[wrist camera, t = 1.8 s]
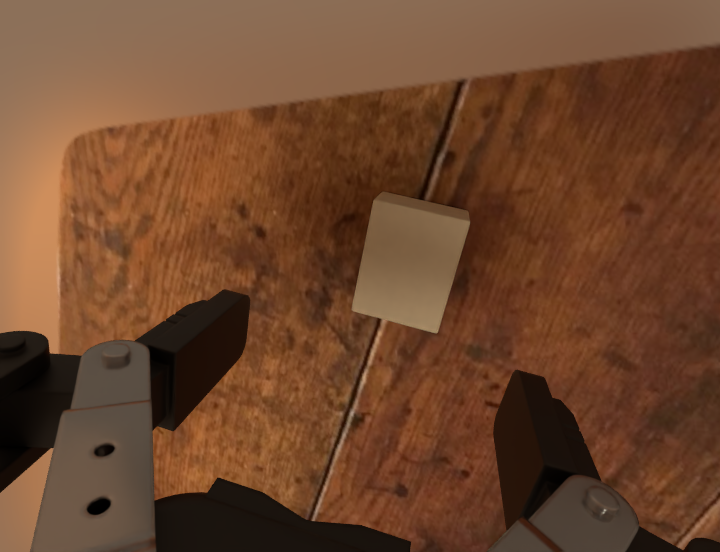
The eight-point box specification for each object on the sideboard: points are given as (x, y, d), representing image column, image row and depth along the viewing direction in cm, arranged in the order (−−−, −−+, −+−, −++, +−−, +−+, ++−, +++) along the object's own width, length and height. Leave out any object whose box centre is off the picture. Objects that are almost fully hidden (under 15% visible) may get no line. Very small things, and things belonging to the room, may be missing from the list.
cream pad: (381, 190, 22) (373, 198, 19) (468, 210, 21) (471, 221, 19) (360, 292, 24) (350, 311, 22) (438, 313, 24) (437, 334, 21)
